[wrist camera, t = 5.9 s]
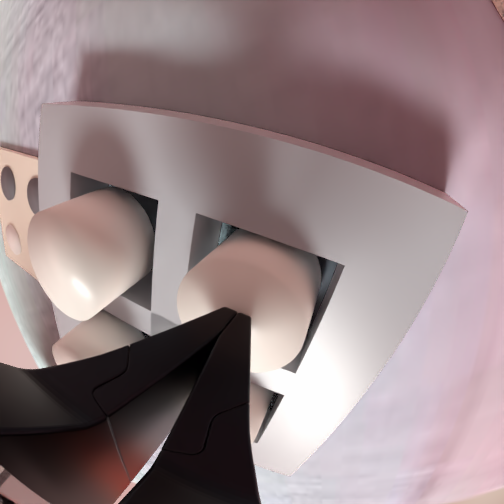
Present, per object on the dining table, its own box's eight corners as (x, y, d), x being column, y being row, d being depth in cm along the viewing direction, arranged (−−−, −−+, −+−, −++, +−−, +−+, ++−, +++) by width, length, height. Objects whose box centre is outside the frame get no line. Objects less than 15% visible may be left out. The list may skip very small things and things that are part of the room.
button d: (153, 294, 12) (103, 339, 9) (86, 260, 13) (35, 291, 10) (160, 201, 10) (94, 233, 7) (85, 177, 11) (22, 198, 8)
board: (299, 445, 16) (290, 476, 14) (87, 342, 19) (66, 361, 17) (445, 192, 8) (468, 211, 6) (80, 101, 12) (41, 103, 10)
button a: (265, 409, 15) (245, 456, 12) (197, 381, 15) (169, 422, 13) (287, 363, 13) (266, 418, 10) (206, 330, 14) (171, 375, 11)
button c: (301, 331, 12) (281, 388, 9) (212, 296, 13) (173, 341, 10) (336, 244, 10) (326, 291, 7) (229, 207, 11) (183, 237, 8)
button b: (152, 382, 15) (119, 422, 12) (97, 348, 15) (62, 381, 13) (152, 330, 13) (108, 374, 10) (89, 294, 14) (44, 327, 11)
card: (71, 299, 18) (66, 303, 17) (9, 253, 19) (4, 255, 19) (63, 164, 13) (55, 166, 13) (0, 146, 15) (-6, 148, 15)
